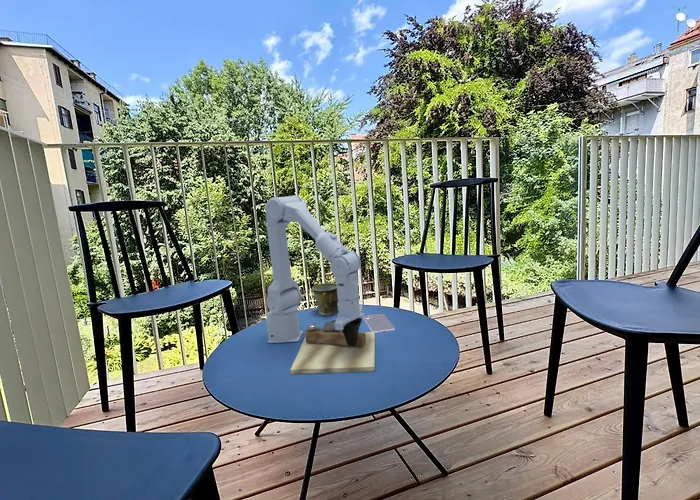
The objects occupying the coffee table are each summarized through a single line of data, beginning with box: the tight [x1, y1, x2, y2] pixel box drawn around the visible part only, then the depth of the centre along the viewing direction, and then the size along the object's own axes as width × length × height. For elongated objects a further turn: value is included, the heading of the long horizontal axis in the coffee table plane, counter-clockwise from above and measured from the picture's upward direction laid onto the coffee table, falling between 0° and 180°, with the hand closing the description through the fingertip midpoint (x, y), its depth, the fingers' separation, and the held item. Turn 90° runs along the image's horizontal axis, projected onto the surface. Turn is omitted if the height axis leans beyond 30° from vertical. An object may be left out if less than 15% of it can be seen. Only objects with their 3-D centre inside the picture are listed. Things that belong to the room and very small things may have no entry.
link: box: [304, 326, 366, 347], centre depth 106 cm, size 18×4×3 cm, turn 68°
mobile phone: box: [362, 313, 396, 334], centre depth 122 cm, size 8×1×15 cm
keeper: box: [307, 319, 338, 331], centre depth 110 cm, size 10×6×5 cm, turn 86°
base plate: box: [290, 331, 376, 375], centre depth 103 cm, size 21×22×1 cm
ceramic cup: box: [312, 282, 338, 317], centre depth 134 cm, size 13×10×10 cm
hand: (351, 345), depth 101 cm, fingers closed
